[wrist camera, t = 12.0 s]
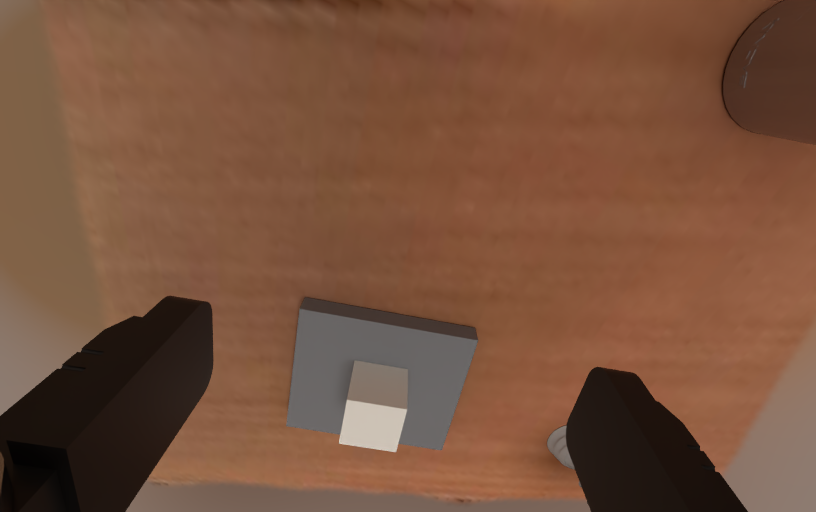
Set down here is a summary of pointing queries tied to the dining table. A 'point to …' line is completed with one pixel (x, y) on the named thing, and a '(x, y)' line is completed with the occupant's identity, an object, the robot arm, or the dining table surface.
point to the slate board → (380, 344)
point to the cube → (375, 406)
